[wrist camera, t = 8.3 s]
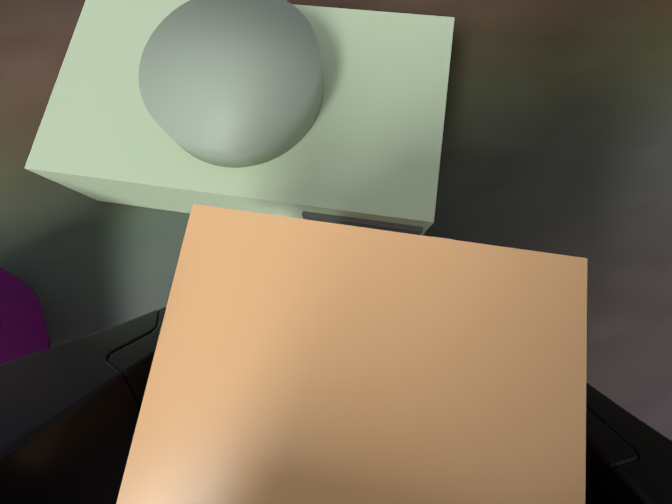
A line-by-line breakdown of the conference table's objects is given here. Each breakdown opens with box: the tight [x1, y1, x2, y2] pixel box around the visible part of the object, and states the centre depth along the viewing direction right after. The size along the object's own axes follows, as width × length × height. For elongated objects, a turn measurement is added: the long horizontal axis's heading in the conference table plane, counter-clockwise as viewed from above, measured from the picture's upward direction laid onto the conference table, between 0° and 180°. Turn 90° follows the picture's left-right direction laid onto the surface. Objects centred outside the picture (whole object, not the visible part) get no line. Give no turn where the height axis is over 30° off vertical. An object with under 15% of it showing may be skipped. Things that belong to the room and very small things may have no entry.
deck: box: [25, 0, 455, 240], centre depth 18 cm, size 19×24×7 cm
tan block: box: [116, 204, 587, 504], centre depth 10 cm, size 4×6×12 cm
